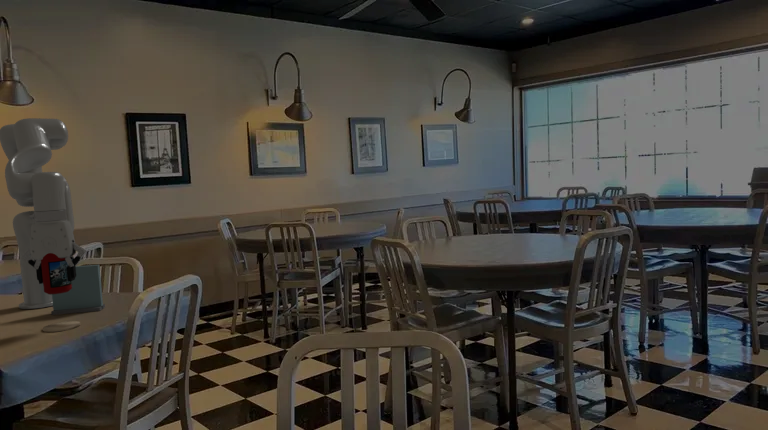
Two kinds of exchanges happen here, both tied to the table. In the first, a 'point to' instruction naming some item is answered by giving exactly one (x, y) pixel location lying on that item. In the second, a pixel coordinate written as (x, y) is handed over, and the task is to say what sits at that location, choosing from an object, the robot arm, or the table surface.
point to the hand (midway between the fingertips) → (57, 281)
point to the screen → (81, 293)
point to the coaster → (61, 326)
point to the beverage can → (55, 274)
